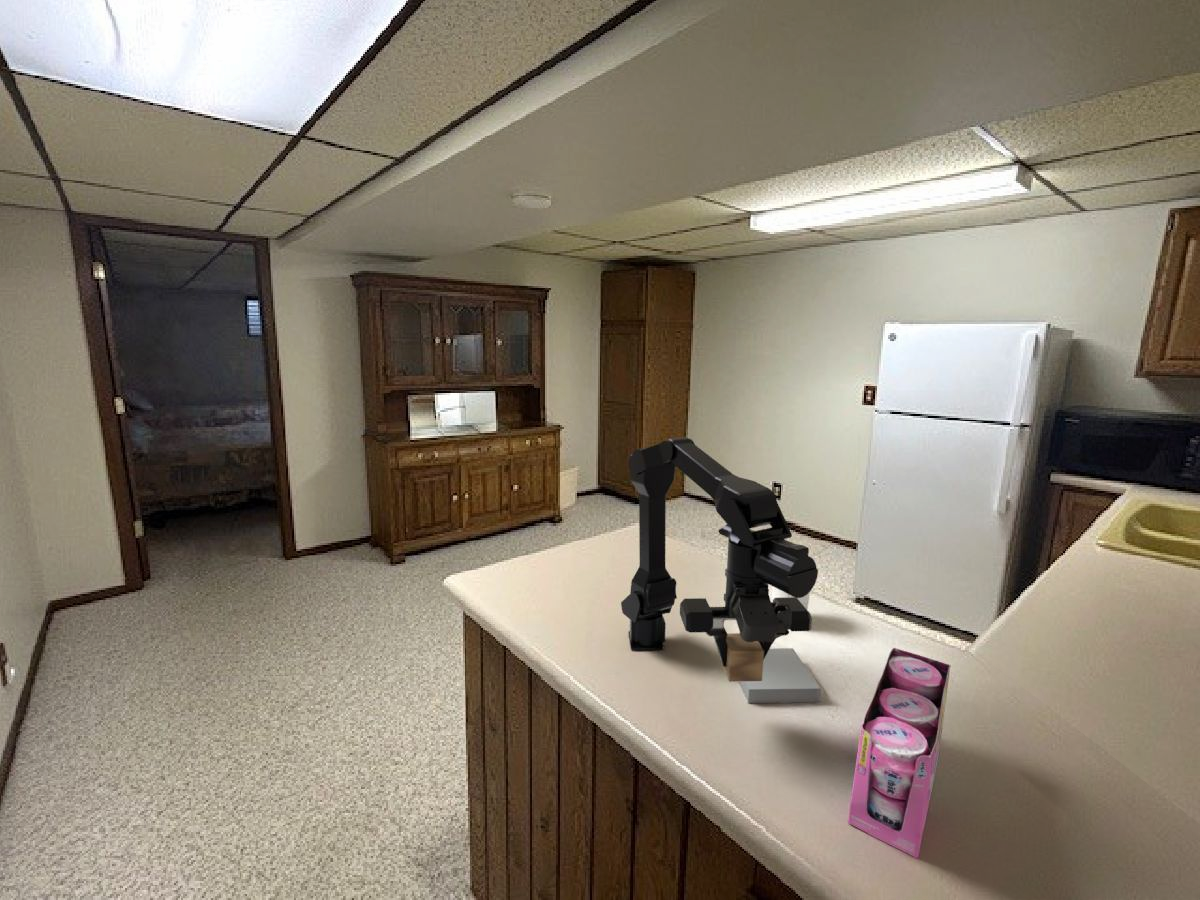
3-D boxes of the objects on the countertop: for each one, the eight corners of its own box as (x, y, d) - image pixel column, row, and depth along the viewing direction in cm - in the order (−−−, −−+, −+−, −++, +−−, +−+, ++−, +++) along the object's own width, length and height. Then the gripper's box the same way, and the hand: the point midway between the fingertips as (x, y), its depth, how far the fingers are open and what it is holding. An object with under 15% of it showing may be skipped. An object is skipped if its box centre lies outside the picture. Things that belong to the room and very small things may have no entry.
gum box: (918, 870, 60) (932, 766, 57) (843, 832, 65) (853, 734, 62) (940, 747, 79) (952, 664, 76) (881, 724, 83) (890, 645, 81)
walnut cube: (729, 681, 80) (730, 651, 79) (720, 662, 85) (722, 633, 84) (761, 681, 80) (764, 650, 79) (751, 661, 85) (753, 633, 84)
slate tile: (748, 702, 88) (749, 689, 88) (729, 661, 100) (729, 648, 99) (819, 701, 88) (820, 688, 88) (792, 660, 100) (793, 648, 100)
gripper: (695, 595, 71) (691, 699, 74) (832, 594, 72) (823, 697, 74) (680, 562, 82) (677, 654, 85) (800, 561, 82) (792, 653, 85)
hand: (741, 664), depth 82 cm, fingers closed on walnut cube, 5 cm apart
